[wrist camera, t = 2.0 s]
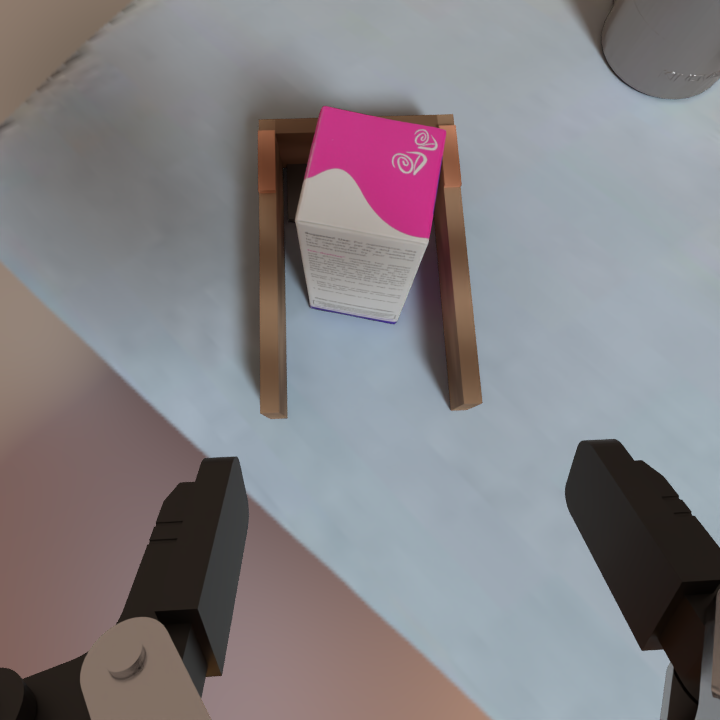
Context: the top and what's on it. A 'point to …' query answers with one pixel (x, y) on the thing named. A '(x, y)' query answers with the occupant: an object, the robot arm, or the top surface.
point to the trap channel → (291, 150)
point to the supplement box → (366, 211)
